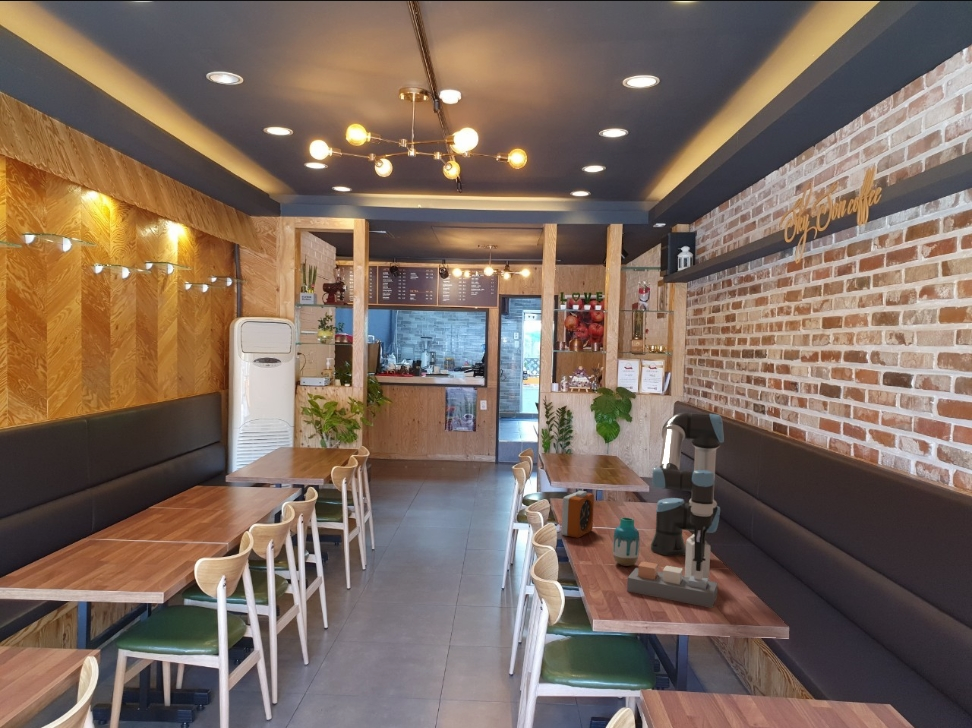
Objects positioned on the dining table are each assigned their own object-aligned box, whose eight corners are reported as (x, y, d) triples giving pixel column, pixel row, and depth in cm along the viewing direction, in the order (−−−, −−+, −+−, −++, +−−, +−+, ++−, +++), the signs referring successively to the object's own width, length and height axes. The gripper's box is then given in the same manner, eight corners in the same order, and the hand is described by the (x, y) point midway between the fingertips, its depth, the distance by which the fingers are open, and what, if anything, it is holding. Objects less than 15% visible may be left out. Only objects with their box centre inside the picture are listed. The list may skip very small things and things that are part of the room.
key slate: (690, 591, 241) (690, 575, 241) (707, 594, 238) (708, 578, 238) (687, 596, 235) (688, 580, 235) (705, 599, 233) (705, 583, 233)
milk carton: (702, 578, 259) (704, 530, 259) (708, 584, 252) (711, 535, 252) (684, 577, 259) (686, 529, 259) (690, 583, 252) (692, 534, 252)
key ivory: (665, 581, 245) (666, 565, 245) (682, 584, 242) (682, 568, 242) (662, 585, 239) (663, 570, 239) (679, 589, 237) (680, 573, 237)
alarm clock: (577, 539, 307) (579, 495, 307) (560, 535, 312) (562, 492, 311) (593, 530, 323) (594, 489, 322) (576, 527, 328) (578, 486, 327)
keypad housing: (635, 580, 253) (635, 567, 253) (716, 596, 240) (717, 582, 240) (627, 591, 241) (627, 577, 241) (712, 608, 228) (713, 593, 228)
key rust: (641, 576, 249) (642, 561, 249) (657, 579, 246) (658, 564, 246) (637, 581, 243) (638, 565, 243) (654, 584, 241) (654, 568, 241)
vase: (610, 566, 269) (612, 520, 268) (614, 559, 279) (616, 514, 278) (636, 570, 265) (638, 523, 265) (639, 562, 275) (641, 517, 275)
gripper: (693, 508, 244) (690, 571, 244) (687, 516, 232) (684, 582, 232) (714, 511, 240) (711, 575, 241) (710, 519, 229) (706, 586, 229)
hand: (698, 578), depth 237 cm, fingers closed
